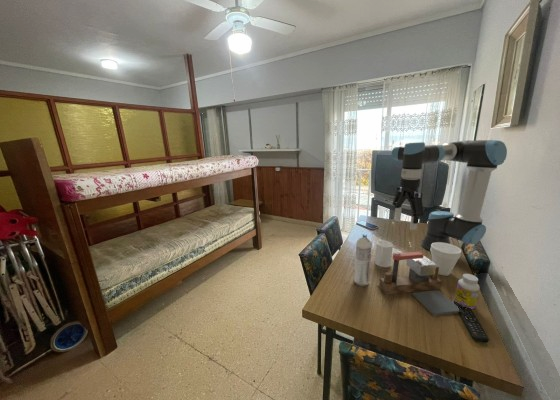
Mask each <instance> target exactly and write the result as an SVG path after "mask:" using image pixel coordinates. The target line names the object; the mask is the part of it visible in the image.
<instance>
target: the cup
mask: <svg viewBox="0 0 560 400" xmlns="http://www.w3.org/2000/svg"><path fill="white" fill-rule="evenodd" d="M429 251H430V253H431V261H432V262H434V263H435V264H437V265H436V266H438V267H439V271H438V275H441V276H450V275H451V274H452V273H451V272H452V271H453V269H454V267H455V266H456V264H457V262H458V260H459V259H460V258H461V256H462V249H461V248H460V247H458V246H456V245H455V244H451V243H450V244H448V243H442V242H435V243H432V244H431V249H430V250H429Z"/></svg>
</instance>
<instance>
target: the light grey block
mask: <svg viewBox="0 0 560 400" xmlns="http://www.w3.org/2000/svg"><path fill="white" fill-rule="evenodd" d="M405 265H406V266H407V267H409V269H410V268H411V269H412V270H413V271H414V272H416V273H417V274H418V275H419V276H425V275H435V271H436V265H437V264H435V263H434V262H432V259H429V258H428V257H427V256H425V255H423V258H418V259H406V264H405Z"/></svg>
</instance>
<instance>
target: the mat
mask: <svg viewBox="0 0 560 400" xmlns="http://www.w3.org/2000/svg"><path fill="white" fill-rule="evenodd" d="M412 296H413V297H414V298H415V299H416V300H417V301H418V302H419V303H420V304H421V305H422V306H423V307H424V308H425V309H426V310H427V311H428V312H429V313H430V314H432V316H442V315H450V314H451V315H452V314H458V312H459V308H460V307H459V305H458V304H455V303H454V302H453V301H452V300H451V299H449V297H447V296H445V294H443V293H442V292H441V291H440V290H439V289H436V290H426V291H416V292H413V293H412ZM458 307H459V308H458Z"/></svg>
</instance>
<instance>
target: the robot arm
mask: <svg viewBox="0 0 560 400" xmlns="http://www.w3.org/2000/svg"><path fill="white" fill-rule="evenodd" d="M507 154H508V148H507V145H506V143H505V142H503V141H502V140H496V139H494V140H493V139H488V140H487V139H486V140H485V139H484V140H483V139H482V140H481V139H480V140H475V139H474V140H461V141H454V142H445V143H443V144H426V143H425V142H424V141H415V142H414V141H411V142H406V143H405V145H397V146H394V147H393V148H392V150H391V155H390V156H391V159H393V160H394V161H398V162H402V166H401V175H400V177H401V178H400V183H399V186H397V187H396V191H395V195H394V198H393V201H392V206H394V219H393V220H394V222H398V221H401V218H402V210H403V209H402V206H403V204H404V202H405V201H406V200H407V201H408V202H409V204H410V208H411V209H410V210H411V213H412V215H411V216H410V217H411V218H410V223H409V230H410V231H416V230H417V229H418V224H419V219H420V217H423V216H424V207H423V206H424V205H423V193H422V192H418V189H419V188H420V184H421V177H422V173H423V172H422V171H423V170H422V169H423V164H435V163H439V162H441V161H446V162H447V161H449V162H451V161H452V162H457V163H466V168H467V169H468V175H467V178H466V183H465V187H464V191H463V196H462V199H461V204H460V209H459V211H458V213H456V214H455V215H454V213H453V212H450V211H445V210H444V211H443V210H441V211H438V210H436V211H431V212H430V213H429V215H428V218H427V219H428V221H427V226H426V233H425V235H424V237H423V239H422V240H421V247H422V248H423V249H425V250H428V251H430V249H431V244H432V243H435V242H442V243H448V244H451V240H450V238H451V239H455V240H458V241H461V242H462V243H466V244H470V245H474V244H477V243H479V242H480V241H481V240H482V239H483V237H484V236H485V234H486V232H487V227H486V226H485V225H484V224H483V221H484V219H482V218H481V213H482V209H483V205H484V202H485V197H486V194H487V190H488V187H489V183H490V179H491V175H492V172H493V171H495V170H496V169H497V168H498V166H500V165H502V164H503V163H504V162H505V161H506V159H507V156H508V155H507Z"/></svg>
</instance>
